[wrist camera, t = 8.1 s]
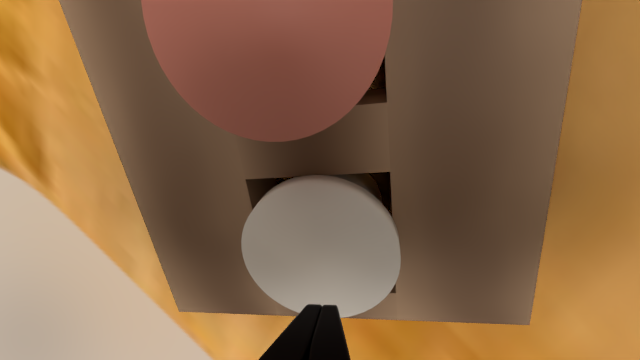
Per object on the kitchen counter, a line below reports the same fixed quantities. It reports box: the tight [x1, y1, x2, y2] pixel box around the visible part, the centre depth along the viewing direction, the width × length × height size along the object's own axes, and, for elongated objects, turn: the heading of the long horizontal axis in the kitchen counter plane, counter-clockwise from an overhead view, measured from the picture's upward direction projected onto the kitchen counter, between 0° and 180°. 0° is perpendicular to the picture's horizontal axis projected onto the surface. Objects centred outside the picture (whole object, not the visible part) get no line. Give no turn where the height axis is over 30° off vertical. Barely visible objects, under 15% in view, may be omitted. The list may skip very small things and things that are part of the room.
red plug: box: [141, 0, 393, 142], centre depth 9 cm, size 6×6×4 cm
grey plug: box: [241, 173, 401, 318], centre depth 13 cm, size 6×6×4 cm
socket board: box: [59, 0, 582, 325], centre depth 11 cm, size 15×23×3 cm, turn 7°
